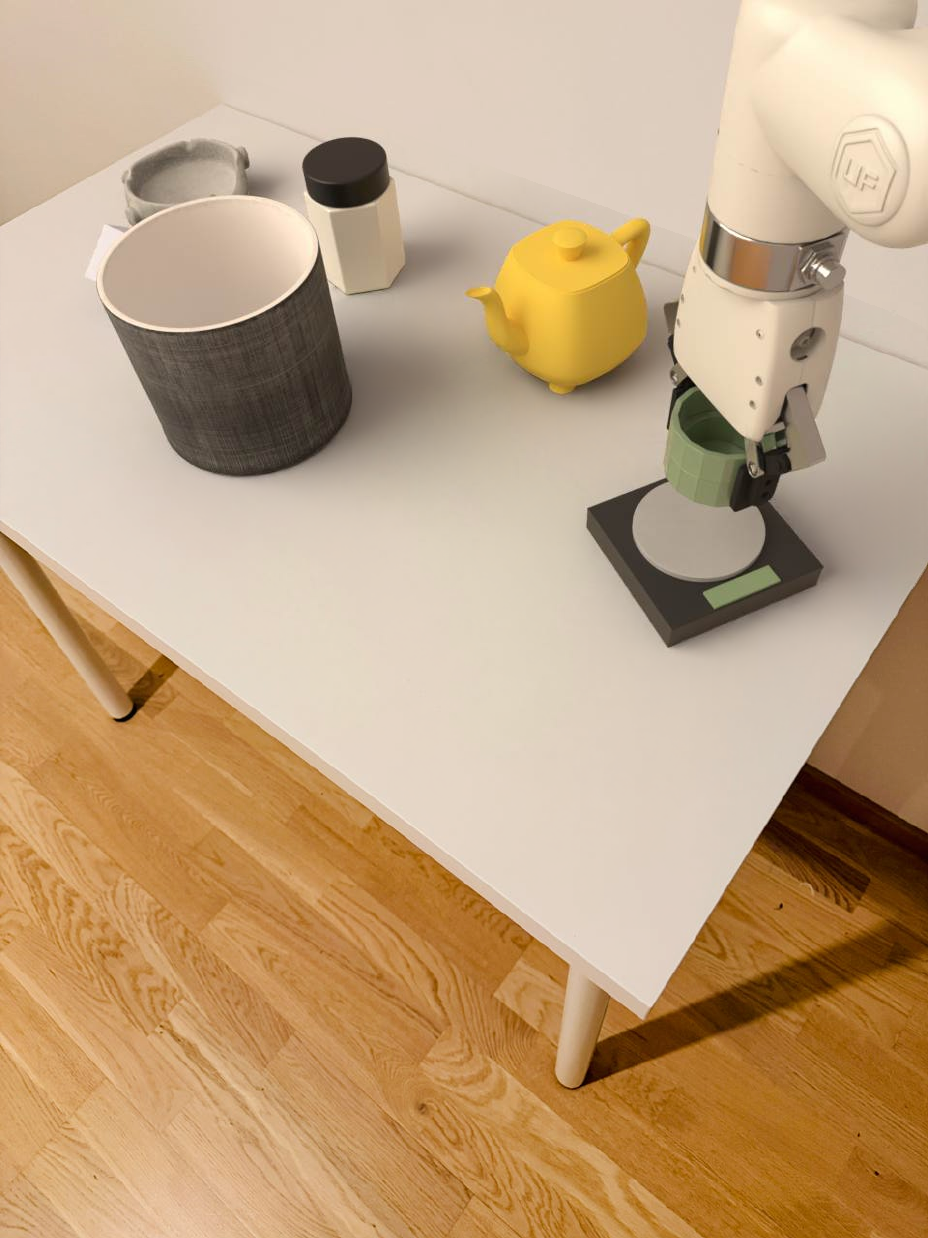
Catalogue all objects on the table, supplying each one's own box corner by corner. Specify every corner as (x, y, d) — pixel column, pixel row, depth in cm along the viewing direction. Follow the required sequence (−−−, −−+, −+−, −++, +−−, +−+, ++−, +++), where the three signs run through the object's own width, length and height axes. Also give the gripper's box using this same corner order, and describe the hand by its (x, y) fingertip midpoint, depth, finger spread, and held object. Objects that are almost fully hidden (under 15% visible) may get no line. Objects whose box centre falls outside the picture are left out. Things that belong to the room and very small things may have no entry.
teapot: (434, 367, 86) (419, 251, 76) (594, 280, 92) (600, 161, 82) (521, 445, 80) (518, 330, 69) (687, 346, 85) (707, 226, 75)
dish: (258, 172, 108) (247, 130, 103) (249, 242, 100) (236, 199, 96) (138, 184, 108) (122, 143, 104) (120, 254, 100) (102, 212, 96)
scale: (816, 585, 69) (826, 561, 67) (667, 647, 67) (672, 625, 65) (723, 473, 76) (729, 448, 74) (585, 526, 74) (587, 502, 72)
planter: (386, 424, 82) (357, 273, 69) (205, 507, 78) (138, 364, 65) (304, 321, 91) (265, 170, 78) (139, 391, 87) (68, 244, 74)
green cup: (789, 489, 63) (808, 435, 58) (698, 526, 61) (710, 473, 57) (731, 422, 67) (745, 367, 62) (644, 456, 65) (651, 401, 61)
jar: (401, 240, 98) (385, 129, 88) (410, 286, 93) (395, 174, 83) (319, 253, 98) (294, 143, 88) (325, 299, 93) (299, 189, 83)
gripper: (940, 303, 45) (839, 531, 59) (742, 138, 54) (698, 370, 68) (810, 351, 43) (741, 571, 58) (630, 174, 53) (610, 403, 67)
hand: (718, 461), depth 63 cm, fingers closed on green cup, 7 cm apart
